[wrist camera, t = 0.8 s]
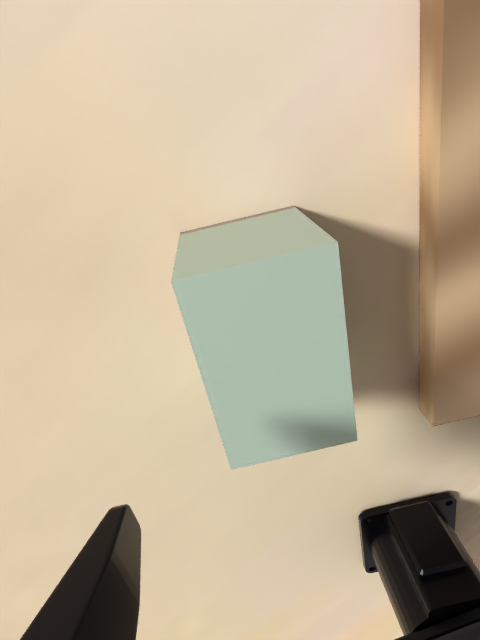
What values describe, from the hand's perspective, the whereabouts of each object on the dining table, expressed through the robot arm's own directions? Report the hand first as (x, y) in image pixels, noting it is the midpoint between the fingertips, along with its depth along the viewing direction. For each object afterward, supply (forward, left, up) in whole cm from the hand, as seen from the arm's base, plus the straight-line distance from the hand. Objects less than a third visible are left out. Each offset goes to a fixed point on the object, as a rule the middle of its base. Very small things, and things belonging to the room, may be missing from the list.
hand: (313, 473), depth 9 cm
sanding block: (0, 0, -10) cm, 10 cm away
